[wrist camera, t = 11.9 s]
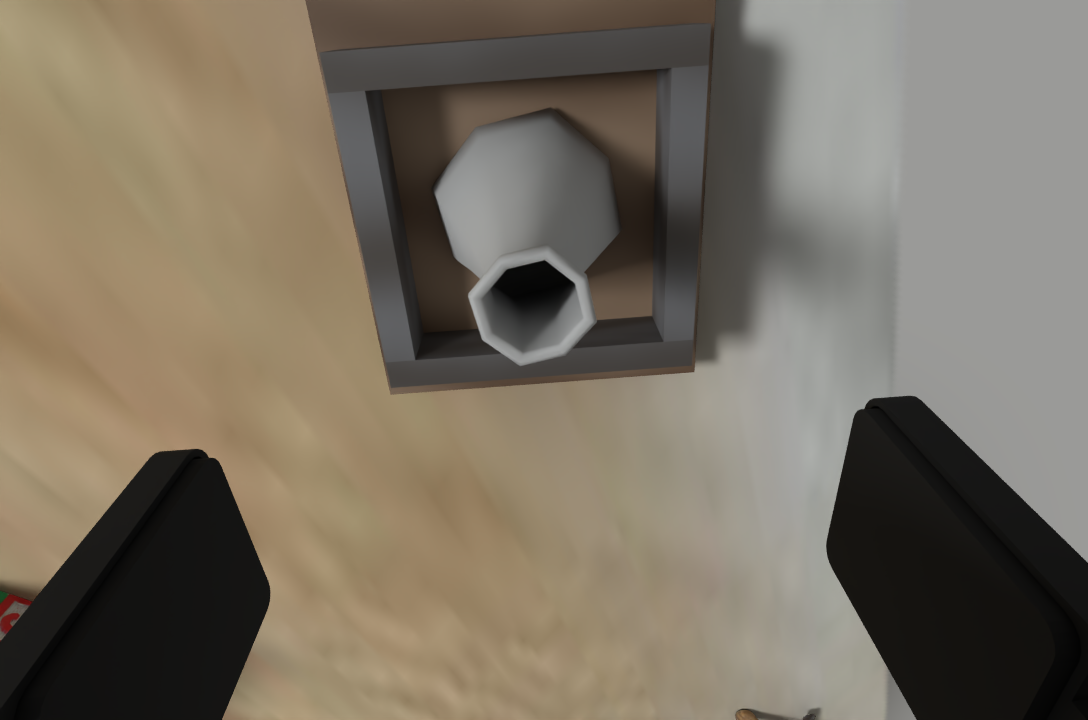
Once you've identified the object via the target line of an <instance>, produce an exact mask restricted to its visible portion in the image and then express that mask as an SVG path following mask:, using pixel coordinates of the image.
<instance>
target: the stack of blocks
mask: <svg viewBox="0 0 1088 720" xmlns="http://www.w3.org/2000/svg"><path fill="white" fill-rule="evenodd" d="M31 603H32V602H31V601H28V600H26V599H23V598H20V597H17V596H15V595H11V594H7V593H5V592H2V591H0V641H1V640H2V639H3V637H4V636H5V635H6V634H7V633H8V631H9V630H10V629H11V628H12V626H13V625H14V624H15V623H16V622H17V620H18V619H19V618H20V617H21V615H22V614H23V613H24V612H25V610H26V609H27V608H28V607H29V606H30V604H31Z"/></svg>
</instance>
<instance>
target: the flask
mask: <svg viewBox="0 0 1088 720" xmlns="http://www.w3.org/2000/svg"><path fill="white" fill-rule="evenodd" d="M431 189H432V192H433V196H434V199H435V202H436V205H437V208H438V211H439V214H440V217H441V220H442V223H443V226H444V229H445V232H446V235H447V238H448V241H449V244H450V247H451V250H452V253H453V257H454V258H455V259H456V260H457V261H459V262H460V263H461V264H463V265H464V266H465V267H467V268H468V269H470V270H471V271H472V272H473V273H474V274H475V275H476V276H477V277H478V278H480V280H479V281H478V282H477V284H476V285H475V286H474V287H473V289H472V290H471V291H470V292H469V293H468V298H469V301H470V304H471V307H472V310H473V313H474V316H475V319H476V322H477V325H478V328H479V331H480V334H481V338H482V340H483V341H484V342H486V343H487V344H489V345H490V346H492V347H493V348H495V349H496V350H497V351H499V352H500V353H502V354H503V355H505V356H506V357H508V358H509V359H510V360H512V361H513V362H515V363H516V364H518V365H519V366H522V365H527V364H531V363H536V362H540V361H544V360H549V359H553V358H557V357H562V356H566V355H567V353H568V352H569V351H570V350H571V349H572V348H573V347H574V346H575V345H576V344H577V343H578V342H579V341H580V340H581V339H582V338H583V336H584V335H585V334H586V333H587V332H588V331H589V330H590V329H591V328H592V327H593V326H594V325H595V324H596V323H597V319H596V315H595V310H594V306H593V301H592V297H591V292H590V288H589V283H588V279H587V275H586V274H585V273H584V272H585V271H586V270H587V269H588V267H589V266H590V265H591V264H592V263H593V262H594V261H595V260H596V258H597V257H598V256H599V255H600V254H601V253H602V252H603V251H604V250H605V248H606V247H607V246H608V245H609V244H610V243H611V242H612V241H613V239H614V238H615V237H616V236H617V235H618V234H619V233H620V231H621V230H622V227H621V222H620V216H619V211H618V206H617V200H616V195H615V189H614V184H613V179H612V173H611V168H610V163H609V158H608V157H607V156H606V155H604V154H603V153H602V152H601V151H600V150H599V149H598V148H596V147H595V146H594V145H593V144H592V143H591V142H590V141H589V140H587V139H586V138H585V137H584V136H583V135H582V134H581V133H579V132H578V131H577V130H576V129H575V128H574V127H573V126H572V125H570V124H569V123H568V122H567V121H566V120H565V119H564V118H563V117H561V116H560V115H559V114H558V113H557V112H556V111H555V110H553V109H552V108H551V107H550V108H546V109H542V110H539V111H535V112H531V113H527V114H523V115H520V116H516V117H512V118H508V119H504V120H501V121H497V122H493V123H489V124H486V125H482V126H478V127H475V128H474V130H473V131H472V133H471V134H470V135H469V137H468V138H467V139H466V141H465V142H464V144H463V145H462V146H461V148H460V149H459V150H458V152H457V153H456V155H455V156H454V157H453V159H452V160H451V161H450V163H449V164H448V165H447V167H446V168H445V170H444V171H443V172H442V174H441V175H440V176H439V178H438V179H437V181H436V182H435V183H434V185H433V186H432V187H431Z"/></svg>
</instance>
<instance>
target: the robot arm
mask: <svg viewBox="0 0 1088 720" xmlns="http://www.w3.org/2000/svg"><path fill="white" fill-rule="evenodd" d="M826 549H827V556H828V560H829V563H830V565H831V567H832V569H833V571H834V573H835V575H836V576H837V578H838V580H839V582H840V583H841V585H842V587H843V589H844V591H845V592H846V594H847V596H848V598H849V600H850V601H851V603H852V605H853V607H854V609H855V610H856V612H857V614H858V616H859V617H860V619H861V621H862V623H863V625H864V626H865V628H866V630H867V632H868V634H869V635H870V637H871V639H872V641H873V642H874V644H875V646H876V648H877V650H878V651H879V653H880V655H881V657H882V659H883V660H884V662H885V664H886V666H887V667H888V669H889V671H890V673H891V675H892V676H893V678H894V680H895V682H896V684H897V685H898V687H899V689H900V690H901V692H902V694H903V696H904V698H905V699H906V701H907V703H908V705H909V707H910V708H911V710H912V712H913V714H914V715H915V717H916V719H917V720H1088V563H1087V562H1086V561H1085V560H1084V559H1083V558H1082V557H1081V556H1080V555H1079V554H1078V553H1077V552H1076V551H1075V550H1074V549H1073V548H1072V547H1071V546H1070V545H1069V544H1068V543H1067V542H1066V541H1065V540H1064V539H1063V538H1062V537H1061V536H1060V535H1059V534H1058V533H1056V531H1055V530H1054V529H1053V528H1051V526H1049V525H1048V524H1047V523H1046V522H1045V521H1044V520H1043V519H1042V518H1041V517H1040V516H1039V515H1038V514H1037V513H1036V512H1035V511H1034V510H1033V509H1032V508H1031V507H1030V506H1029V505H1028V504H1027V503H1026V502H1025V501H1024V500H1023V499H1022V498H1021V497H1020V496H1019V495H1018V494H1017V493H1016V492H1015V491H1013V489H1012V488H1010V487H1009V486H1008V485H1007V484H1006V483H1005V482H1004V481H1003V480H1002V479H1001V478H1000V477H999V476H998V475H997V474H996V473H995V472H994V471H993V470H992V469H991V468H990V467H989V466H988V465H987V464H986V463H985V462H984V461H983V460H982V459H981V458H980V457H979V456H978V455H977V454H976V453H975V452H974V451H973V450H972V449H970V448H969V447H968V446H967V445H966V444H965V443H964V442H963V441H962V440H961V439H960V438H959V437H958V436H957V435H956V434H955V433H954V432H953V431H952V430H951V429H950V428H949V427H948V426H947V425H946V424H945V423H944V422H943V421H941V419H940V418H939V417H938V416H936V414H935V413H934V412H933V411H932V410H931V409H930V408H928V407H927V406H926V405H925V404H924V403H923V402H922V401H921V400H920V399H918V398H917V397H915V396H902V397H887V398H874V399H872V400H869V402H868V403H867V404H866V406H865V409H861V410H858V411H857V412H856V414H855V416H854V419H853V423H852V428H851V432H850V437H849V441H848V446H847V451H846V455H845V460H844V464H843V469H842V473H841V478H840V482H839V487H838V492H837V496H836V501H835V505H834V510H833V514H832V519H831V524H830V528H829V533H828V537H827V543H826ZM269 602H270V586H269V582H268V580H267V577H266V575H265V572H264V570H263V567H262V565H261V563H260V560H259V558H258V555H257V553H256V550H255V548H254V545H253V543H252V540H251V538H250V536H249V533H248V531H247V528H246V526H245V523H244V521H243V518H242V516H241V514H240V511H239V509H238V506H237V504H236V501H235V499H234V496H233V494H232V491H231V489H230V487H229V484H228V482H227V479H226V477H225V474H224V472H223V469H222V467H221V465H220V463H219V461H217V460H216V459H215V458H209V457H208V455H207V454H206V453H205V452H204V451H203V450H200V449H189V450H176V451H162V452H158V453H155V454H154V455H153V456H152V457H150V458H149V460H148V461H147V462H146V463H145V465H144V466H143V467H142V468H141V469H140V471H139V472H138V473H137V474H136V476H135V477H134V478H133V479H132V480H131V482H130V483H129V484H128V485H127V487H126V488H125V489H124V490H123V492H122V493H121V494H120V495H119V496H118V498H117V499H116V500H115V501H114V503H113V504H112V505H111V506H110V507H109V509H108V510H107V511H106V512H105V514H104V515H103V516H102V517H101V519H100V520H99V521H98V522H97V523H96V525H95V526H94V527H93V528H92V530H91V531H90V532H89V533H88V534H87V536H86V537H85V538H84V539H83V541H82V542H81V543H80V544H79V545H78V547H77V548H76V549H75V550H74V552H73V553H72V554H71V555H70V557H69V558H68V559H67V560H66V561H65V563H64V564H63V565H62V566H61V568H60V569H59V570H58V571H57V572H56V574H55V575H54V576H53V577H52V579H51V580H50V581H49V582H48V584H47V585H46V586H45V587H44V588H43V590H42V591H41V592H40V593H39V595H38V596H37V597H36V598H35V599H34V601H33V602H32V603H31V604H30V606H29V607H28V608H27V609H26V610H25V612H24V613H23V614H22V615H21V617H20V618H19V619H18V620H17V622H16V623H15V624H14V625H13V626H12V628H11V629H10V630H9V631H8V633H7V634H6V635H5V636H4V637H3V639H2V640H1V641H0V720H222V718H223V716H224V713H225V711H226V708H227V706H228V704H229V701H230V699H231V696H232V694H233V692H234V689H235V687H236V684H237V682H238V679H239V677H240V675H241V672H242V670H243V667H244V665H245V663H246V660H247V658H248V655H249V653H250V651H251V648H252V646H253V643H254V641H255V639H256V636H257V634H258V631H259V629H260V626H261V624H262V622H263V619H264V617H265V614H266V612H267V609H268V606H269Z"/></svg>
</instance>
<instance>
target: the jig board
mask: <svg viewBox="0 0 1088 720" xmlns="http://www.w3.org/2000/svg"><path fill="white" fill-rule="evenodd" d="M306 5H307V9H308V14H309V19H310V23H311V28H312V33H313V37H314V42H315V47H316V51H317V56H318V60H319V65H320V70H321V74H322V79H323V84H324V88H325V93H326V97H327V102H328V107H329V111H330V116H331V121H332V125H333V130H334V135H335V139H336V144H337V148H338V153H339V158H340V162H341V167H342V172H343V176H344V181H345V186H346V190H347V195H348V199H349V204H350V209H351V213H352V218H353V223H354V227H355V232H356V237H357V241H358V246H359V250H360V255H361V260H362V264H363V269H364V274H365V278H366V283H367V288H368V292H369V297H370V301H371V306H372V311H373V315H374V320H375V325H376V329H377V334H378V339H379V343H380V348H381V352H382V357H383V362H384V366H385V371H386V376H387V380H388V385H389V390H390V394H404V393H418V392H431V391H445V390H458V389H472V388H485V387H499V386H512V385H526V384H539V383H553V382H566V381H580V380H593V379H607V378H620V377H634V376H647V375H661V374H674V373H688V372H694V368H695V351H696V334H697V316H698V299H699V282H700V265H701V248H702V230H703V213H704V196H705V179H706V161H707V144H708V127H709V110H710V93H711V75H712V58H713V41H714V24H715V6H716V0H306ZM550 107H551V108H552V109H553V110H555V111H556V112H557V113H558V114H559V115H560V116H561V117H563V118H564V119H565V120H566V121H567V122H568V123H569V124H570V125H572V126H573V127H574V128H575V129H576V130H577V131H578V132H579V133H581V134H582V135H583V136H584V137H585V138H586V139H587V140H589V141H590V142H591V143H592V144H593V145H594V146H595V147H596V148H598V149H599V150H600V151H601V152H602V153H603V154H604V155H606V156H607V157H608V158H609V163H610V168H611V173H612V179H613V184H614V189H615V195H616V200H617V206H618V211H619V216H620V222H621V227H622V230H621V231H620V233H619V234H618V235H617V236H616V237H615V238H614V239H613V241H612V242H611V243H610V244H609V245H608V246H607V247H606V248H605V250H604V251H603V252H602V253H601V254H600V255H599V256H598V257H597V258H596V260H595V261H594V262H593V263H592V264H591V265H590V266H589V267H588V269H587V270H586V271H585V272H584V273H585V274H586V275H587V279H588V283H589V288H590V292H591V297H592V301H593V306H594V310H595V315H596V319H597V323H596V324H595V325H594V326H593V327H592V328H591V329H590V330H589V331H588V332H587V333H586V334H585V335H584V336H583V338H582V339H581V340H580V341H579V342H578V343H577V344H576V345H575V346H574V347H573V348H572V349H571V350H570V351H569V352H568V353H567V355H566V356H562V357H557V358H553V359H549V360H544V361H540V362H536V363H531V364H527V365H522V366H519V365H518V364H516V363H515V362H513V361H512V360H510V359H509V358H508V357H506V356H505V355H503V354H502V353H500V352H499V351H497V350H496V349H495V348H493V347H492V346H490V345H489V344H487V343H486V342H484V341H483V340H482V338H481V334H480V331H479V328H478V325H477V322H476V319H475V316H474V313H473V310H472V307H471V304H470V301H469V298H468V293H469V292H470V291H471V290H472V289H473V287H474V286H475V285H476V284H477V282H478V281H479V280H480V278H478V277H477V276H476V275H475V274H474V273H473V272H472V271H471V270H470V269H468V268H467V267H465V266H464V265H463V264H461V263H460V262H459V261H457V260H456V259H455V258H454V257H453V253H452V250H451V247H450V244H449V241H448V238H447V235H446V232H445V229H444V226H443V223H442V220H441V217H440V214H439V211H438V208H437V205H436V202H435V199H434V196H433V192H432V189H431V187H432V186H433V185H434V183H435V182H436V181H437V179H438V178H439V176H440V175H441V174H442V172H443V171H444V170H445V168H446V167H447V165H448V164H449V163H450V161H451V160H452V159H453V157H454V156H455V155H456V153H457V152H458V150H459V149H460V148H461V146H462V145H463V144H464V142H465V141H466V139H467V138H468V137H469V135H470V134H471V133H472V131H473V130H474V128H475V127H478V126H482V125H486V124H489V123H493V122H497V121H501V120H504V119H508V118H512V117H516V116H520V115H523V114H527V113H531V112H535V111H539V110H542V109H546V108H550Z"/></svg>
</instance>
